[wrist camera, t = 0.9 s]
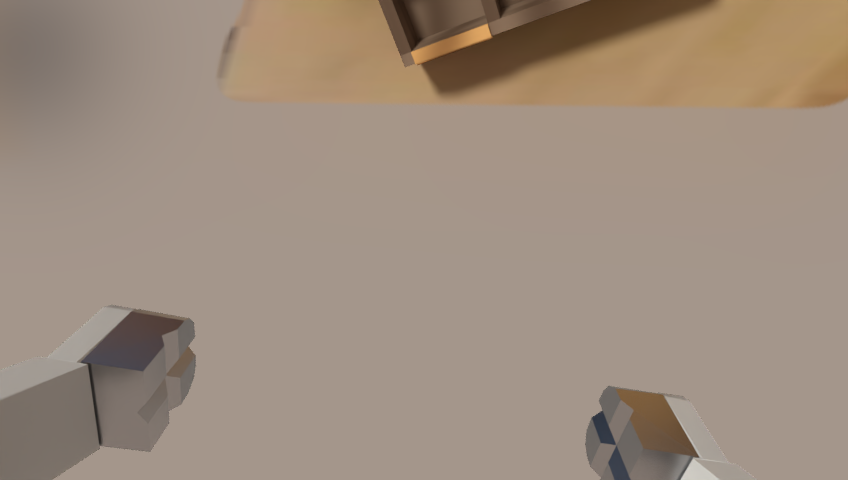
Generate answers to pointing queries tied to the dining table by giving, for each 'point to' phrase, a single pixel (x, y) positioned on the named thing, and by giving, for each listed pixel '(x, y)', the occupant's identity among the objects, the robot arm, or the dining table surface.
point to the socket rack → (458, 23)
